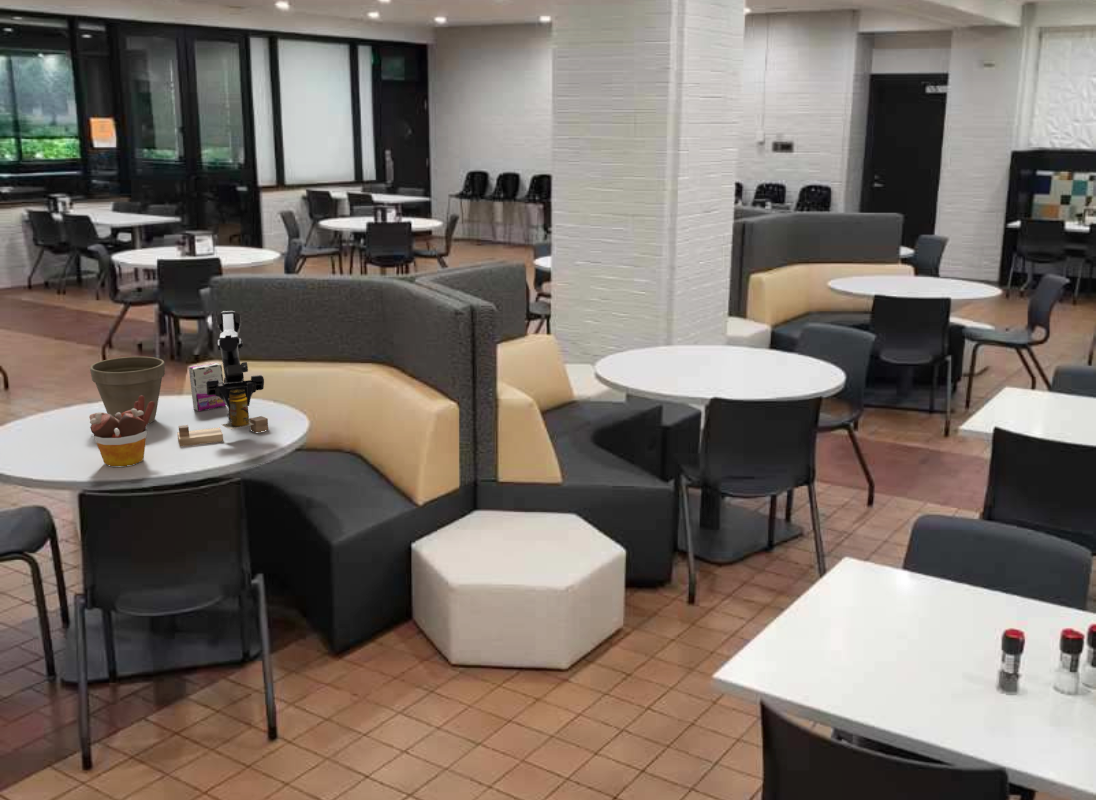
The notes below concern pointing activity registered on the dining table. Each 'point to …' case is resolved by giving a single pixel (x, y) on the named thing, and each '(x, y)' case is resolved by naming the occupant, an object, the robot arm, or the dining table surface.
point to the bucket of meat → (122, 434)
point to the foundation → (198, 436)
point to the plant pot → (128, 382)
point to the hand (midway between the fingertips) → (238, 406)
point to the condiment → (238, 410)
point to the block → (259, 424)
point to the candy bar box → (198, 386)
